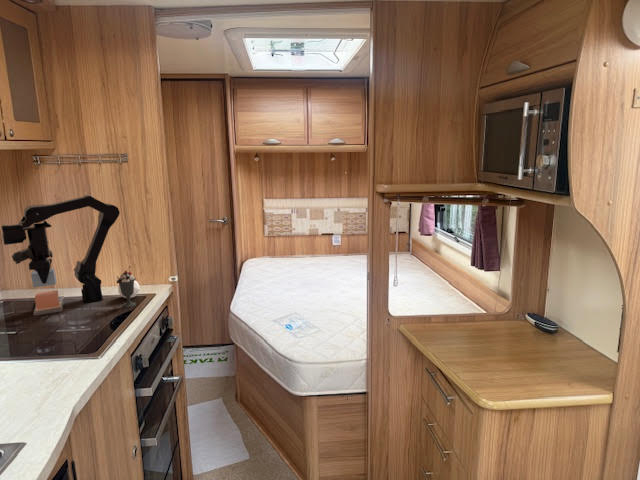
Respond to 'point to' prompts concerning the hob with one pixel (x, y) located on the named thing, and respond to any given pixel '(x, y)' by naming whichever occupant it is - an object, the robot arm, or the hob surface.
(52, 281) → the slate brick
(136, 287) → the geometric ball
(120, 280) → the sundae
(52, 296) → the terracotta brick
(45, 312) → the build plate
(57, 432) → the hob surface
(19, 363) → the hob surface
